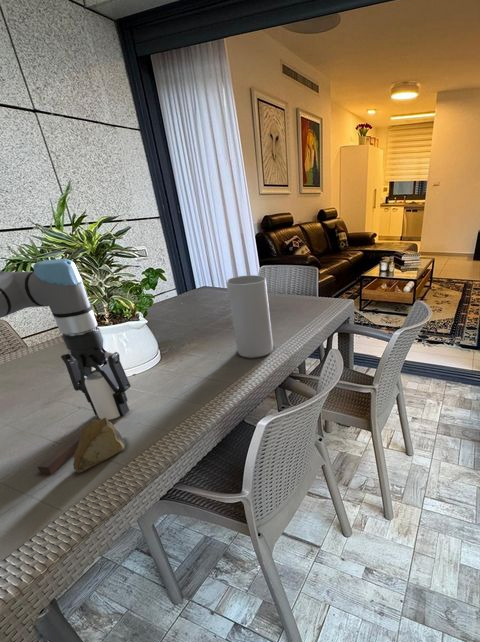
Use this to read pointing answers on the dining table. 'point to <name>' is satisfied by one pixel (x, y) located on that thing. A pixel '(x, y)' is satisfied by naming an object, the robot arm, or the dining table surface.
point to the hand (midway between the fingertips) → (112, 412)
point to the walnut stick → (61, 454)
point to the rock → (97, 444)
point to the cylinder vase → (250, 315)
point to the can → (101, 396)
